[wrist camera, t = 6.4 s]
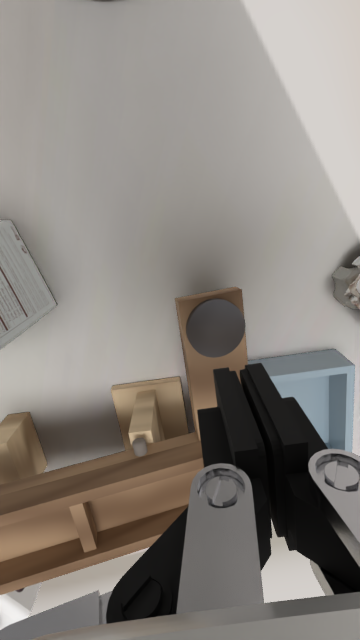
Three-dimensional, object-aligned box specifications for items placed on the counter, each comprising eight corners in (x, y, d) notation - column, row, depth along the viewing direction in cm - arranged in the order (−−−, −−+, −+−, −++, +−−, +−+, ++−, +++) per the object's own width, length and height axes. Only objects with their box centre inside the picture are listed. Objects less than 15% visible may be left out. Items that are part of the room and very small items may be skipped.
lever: (-136, 359, 16) (-179, 381, 14) (235, 286, 20) (253, 294, 17) (-26, 575, 22) (-43, 619, 19) (253, 488, 25) (268, 516, 23)
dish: (216, 363, 27) (222, 383, 24) (332, 347, 27) (354, 365, 24) (228, 456, 31) (234, 484, 27) (332, 442, 30) (351, 470, 27)
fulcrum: (112, 385, 28) (95, 431, 22) (179, 376, 27) (181, 420, 21) (131, 466, 30) (121, 526, 24) (192, 458, 30) (197, 516, 24)
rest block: (7, 414, 28) (-19, 446, 24) (29, 411, 28) (6, 443, 24) (27, 467, 30) (5, 504, 26) (47, 464, 30) (28, 501, 26)
